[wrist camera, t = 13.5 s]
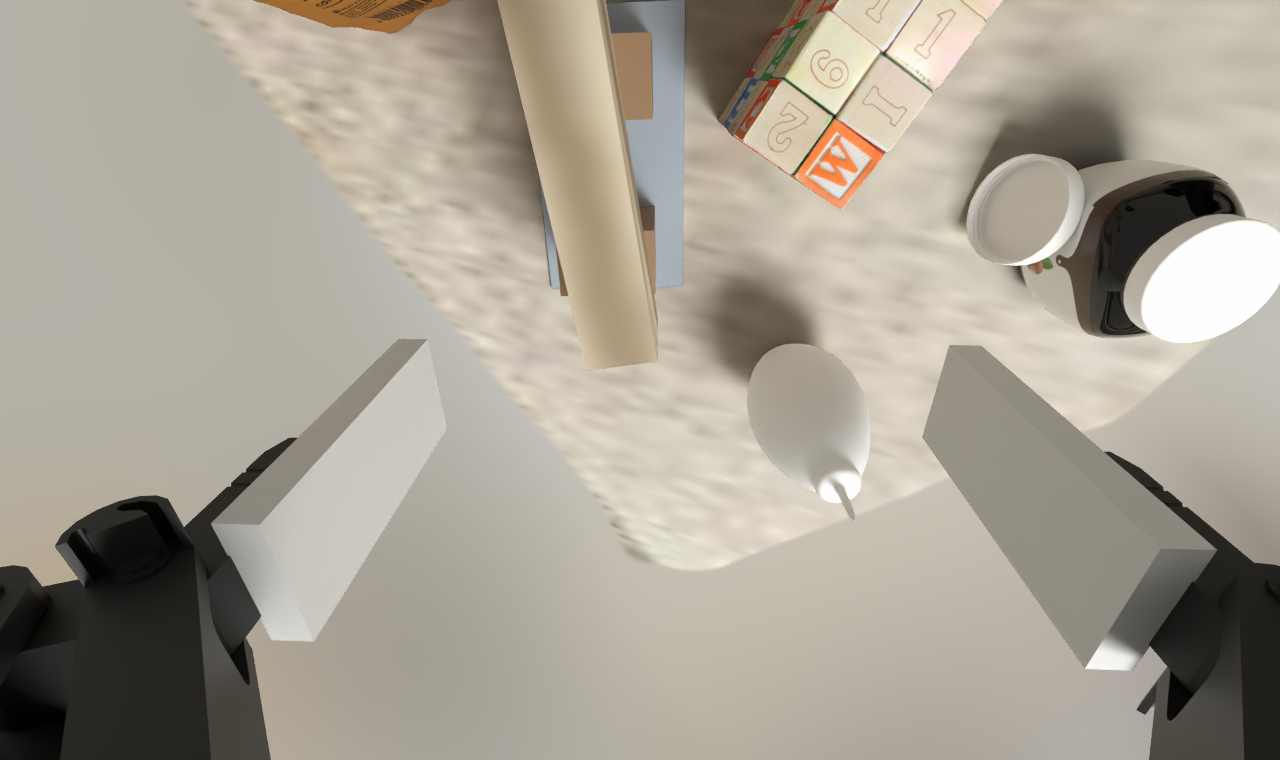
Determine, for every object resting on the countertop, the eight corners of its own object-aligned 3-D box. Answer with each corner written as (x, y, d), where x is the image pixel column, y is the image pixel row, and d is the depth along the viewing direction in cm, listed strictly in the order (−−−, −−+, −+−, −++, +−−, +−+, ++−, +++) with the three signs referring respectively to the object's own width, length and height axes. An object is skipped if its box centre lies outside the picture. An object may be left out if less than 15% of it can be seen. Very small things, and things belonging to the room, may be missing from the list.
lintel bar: (602, -18, 27) (589, -41, 22) (657, 319, 35) (657, 361, 30) (524, -2, 27) (492, -21, 22) (597, 327, 36) (586, 370, 31)
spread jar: (1119, 282, 41) (1272, 350, 31) (959, 319, 43) (1053, 396, 32) (1141, 109, 35) (1338, 122, 25) (957, 161, 37) (1070, 193, 27)
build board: (684, 0, 33) (691, -18, 27) (682, 285, 42) (686, 323, 35) (520, 6, 34) (488, -10, 27) (552, 287, 42) (533, 325, 36)
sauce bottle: (731, 402, 47) (768, 568, 31) (745, 317, 43) (796, 457, 27) (822, 408, 47) (905, 577, 31) (844, 324, 43) (952, 467, 27)
